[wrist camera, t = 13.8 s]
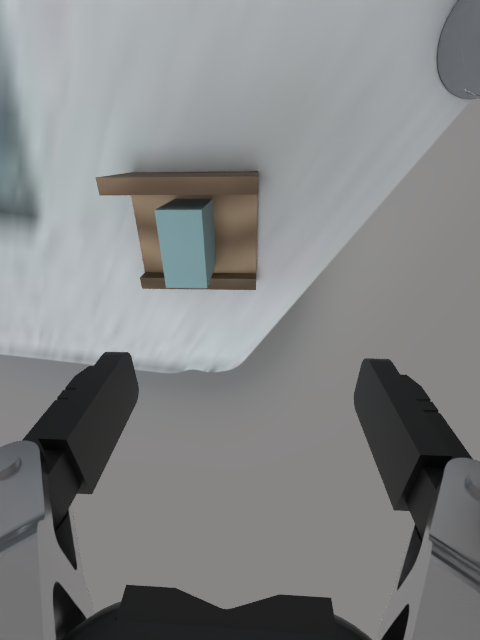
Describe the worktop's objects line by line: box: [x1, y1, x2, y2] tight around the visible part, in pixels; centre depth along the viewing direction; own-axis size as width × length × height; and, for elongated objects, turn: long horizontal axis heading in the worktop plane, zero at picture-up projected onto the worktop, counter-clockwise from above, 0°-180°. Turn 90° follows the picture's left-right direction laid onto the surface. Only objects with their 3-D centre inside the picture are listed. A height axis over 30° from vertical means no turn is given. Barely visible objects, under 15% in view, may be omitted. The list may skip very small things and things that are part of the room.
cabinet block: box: [155, 199, 216, 288], centre depth 33 cm, size 8×4×8 cm, turn 1°
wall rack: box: [96, 171, 258, 290], centre depth 34 cm, size 14×15×9 cm
